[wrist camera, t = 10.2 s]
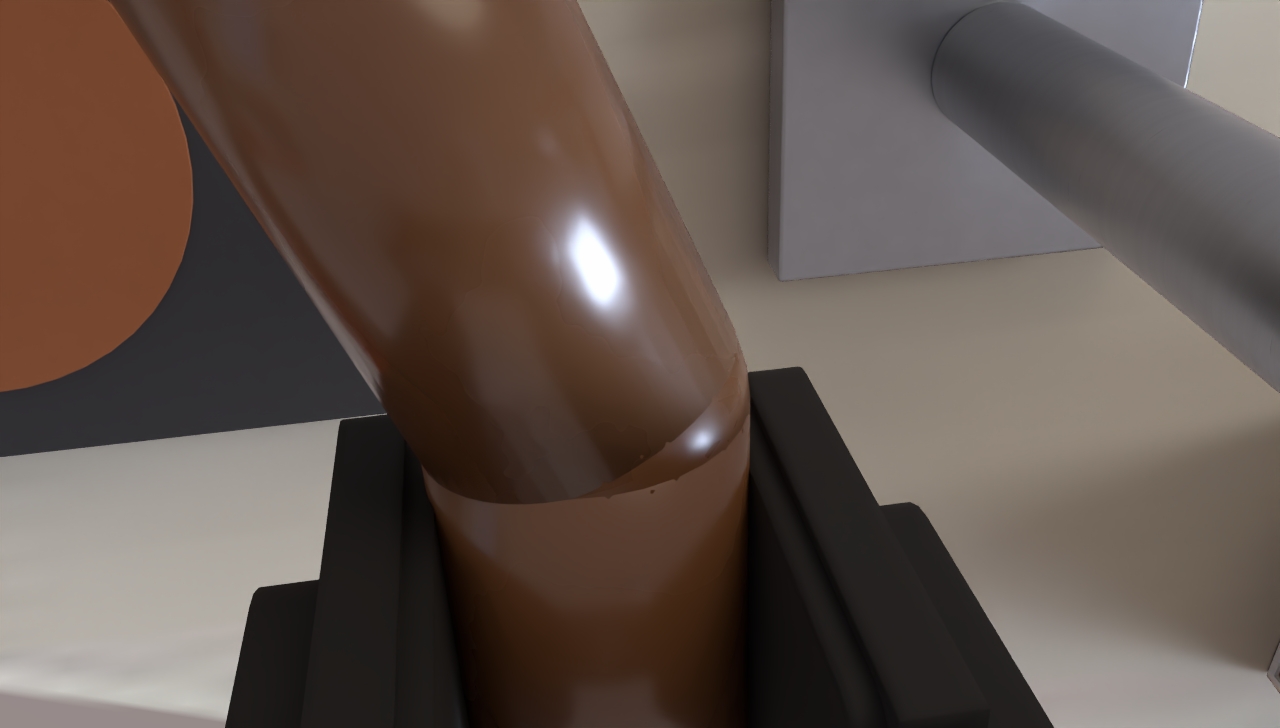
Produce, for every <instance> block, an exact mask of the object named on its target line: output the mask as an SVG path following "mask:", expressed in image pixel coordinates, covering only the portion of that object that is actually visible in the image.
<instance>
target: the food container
mask: <svg viewBox="0 0 1280 728" xmlns="http://www.w3.org/2000/svg"><path fill="white" fill-rule="evenodd" d="M1267 676H1268V678H1269V679H1270V681H1271V682H1272V683H1273V685H1274V686H1275V687H1276V689H1277V690H1278V692H1279V693H1280V643H1279V646H1278V648H1277V651H1276V653H1275V656H1274V658H1273V661H1272V663H1271V666H1270V668H1269V671H1268V673H1267Z"/></svg>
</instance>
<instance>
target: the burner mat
mask: <svg viewBox="0 0 1280 728" xmlns="http://www.w3.org/2000/svg"><path fill="white" fill-rule="evenodd" d="M384 413H387V412H386V411H385V409H384V408H383V406H382V405H381V403H380V402H379V400H378V399H377V397H376V396H375V394H374V393H373V391H372V390H371V388H370V387H369V385H368V384H367V382H366V381H365V379H364V378H363V376H362V375H361V373H360V372H359V371H358V369H357V368H356V366H355V365H354V363H353V362H352V360H351V359H350V357H349V356H348V354H347V353H346V351H345V350H344V348H343V347H342V345H341V344H340V342H339V341H338V339H337V338H336V336H335V335H334V333H333V332H332V330H331V329H330V327H329V326H328V324H327V323H326V321H325V320H324V319H323V317H322V316H321V314H320V313H319V311H318V310H317V308H316V307H315V305H314V304H313V302H312V301H311V299H310V298H309V296H308V295H307V293H306V292H305V290H304V289H303V287H302V286H301V284H300V283H299V281H298V280H297V278H296V277H295V275H294V274H293V272H292V271H291V269H290V268H289V266H288V265H287V264H286V262H285V261H284V259H283V258H282V256H281V255H280V253H279V252H278V250H277V249H276V247H275V246H274V244H273V243H272V241H271V240H270V238H269V237H268V235H267V234H266V232H265V231H264V229H263V228H262V226H261V225H260V223H259V222H258V220H257V219H256V217H255V216H254V214H253V213H252V212H251V210H250V209H249V207H248V206H247V204H246V203H245V201H244V200H243V198H242V197H241V195H240V194H239V192H238V191H237V189H236V188H235V186H234V185H233V183H232V182H231V180H230V179H229V177H228V176H227V174H226V173H225V171H224V170H223V168H222V167H221V165H220V164H219V162H218V161H217V159H216V158H215V157H214V155H213V154H212V152H211V151H210V149H209V148H208V146H207V145H206V143H205V142H204V140H203V139H202V137H201V136H200V134H199V133H198V131H197V130H196V128H195V127H194V125H193V124H192V122H191V121H190V119H189V118H188V116H187V115H186V113H185V112H184V110H183V109H182V107H181V106H180V105H179V103H178V102H177V100H176V99H175V97H174V96H173V94H172V93H171V91H170V90H169V88H168V87H167V85H166V84H165V82H164V81H163V79H162V78H161V76H160V75H159V73H158V72H157V70H156V69H155V67H154V66H153V64H152V63H151V61H150V60H149V58H148V57H147V55H146V54H145V52H144V51H143V50H142V48H141V47H140V45H139V44H138V42H137V41H136V39H135V38H134V36H133V35H132V33H131V32H130V30H129V29H128V27H127V26H126V24H125V23H124V21H123V20H122V18H121V17H120V15H119V14H118V12H117V11H116V9H115V8H114V6H113V5H112V3H111V2H110V0H0V457H6V456H14V455H23V454H32V453H41V452H50V451H58V450H67V449H76V448H85V447H94V446H102V445H111V444H120V443H129V442H138V441H146V440H155V439H164V438H173V437H182V436H190V435H199V434H208V433H217V432H226V431H234V430H243V429H252V428H261V427H270V426H278V425H287V424H296V423H305V422H313V421H322V420H331V419H340V418H349V417H357V416H366V415H375V414H384Z"/></svg>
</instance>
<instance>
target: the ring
mask: <svg viewBox="0 0 1280 728" xmlns="http://www.w3.org/2000/svg"><path fill="white" fill-rule="evenodd" d="M110 2H111V3H112V5H113V6H114V8H115V9H116V11H117V12H118V14H119V15H120V17H121V18H122V20H123V21H124V23H125V24H126V26H127V27H128V29H129V30H130V32H131V33H132V35H133V36H134V38H135V39H136V41H137V42H138V44H139V45H140V47H141V48H142V50H143V51H144V52H145V54H146V55H147V57H148V58H149V60H150V61H151V63H152V64H153V66H154V67H155V69H156V70H157V72H158V73H159V75H160V76H161V78H162V79H163V81H164V82H165V84H166V85H167V87H168V88H169V90H170V91H171V93H172V94H173V96H174V97H175V99H176V100H177V102H178V103H179V105H180V106H181V107H182V109H183V110H184V112H185V113H186V115H187V116H188V118H189V119H190V121H191V122H192V124H193V125H194V127H195V128H196V130H197V131H198V133H199V134H200V136H201V137H202V139H203V140H204V142H205V143H206V145H207V146H208V148H209V149H210V151H211V152H212V154H213V155H214V157H215V158H216V159H217V161H218V162H219V164H220V165H221V167H222V168H223V170H224V171H225V173H226V174H227V176H228V177H229V179H230V180H231V182H232V183H233V185H234V186H235V188H236V189H237V191H238V192H239V194H240V195H241V197H242V198H243V200H244V201H245V203H246V204H247V206H248V207H249V209H250V210H251V212H252V213H253V214H254V216H255V217H256V219H257V220H258V222H259V223H260V225H261V226H262V228H263V229H264V231H265V232H266V234H267V235H268V237H269V238H270V240H271V241H272V243H273V244H274V246H275V247H276V249H277V250H278V252H279V253H280V255H281V256H282V258H283V259H284V261H285V262H286V264H287V265H288V266H289V268H290V269H291V271H292V272H293V274H294V275H295V277H296V278H297V280H298V281H299V283H300V284H301V286H302V287H303V289H304V290H305V292H306V293H307V295H308V296H309V298H310V299H311V301H312V302H313V304H314V305H315V307H316V308H317V310H318V311H319V313H320V314H321V316H322V317H323V319H324V320H325V321H326V323H327V324H328V326H329V327H330V329H331V330H332V332H333V333H334V335H335V336H336V338H337V339H338V341H339V342H340V344H341V345H342V347H343V348H344V350H345V351H346V353H347V354H348V356H349V357H350V359H351V360H352V362H353V363H354V365H355V366H356V368H357V369H358V371H359V372H360V373H361V375H362V376H363V378H364V379H365V381H366V382H367V384H368V385H369V387H370V388H371V390H372V391H373V393H374V394H375V396H376V397H377V399H378V400H379V402H380V403H381V405H382V406H383V408H384V409H385V411H386V412H387V414H388V415H389V417H390V418H391V420H392V421H393V423H394V424H395V425H396V427H397V428H398V430H399V431H400V433H401V434H402V436H403V437H404V439H405V440H406V442H407V443H408V445H409V446H410V448H411V449H412V451H413V452H414V454H415V455H416V457H417V458H418V460H419V461H420V463H421V465H422V471H423V477H424V483H425V488H426V492H427V495H428V498H429V500H430V502H431V504H432V506H433V508H434V514H435V520H436V527H437V533H438V539H439V545H440V551H441V557H442V563H443V569H444V576H445V582H446V588H447V594H448V600H449V606H450V612H451V618H452V624H453V631H454V637H455V643H456V649H457V655H458V661H459V667H460V673H461V680H462V686H463V692H464V698H465V704H466V710H467V716H468V722H469V728H748V679H749V467H750V389H749V380H748V371H747V365H746V362H745V359H744V356H743V353H742V350H741V347H740V344H739V341H738V339H737V336H736V332H735V329H734V327H733V324H732V322H731V320H730V318H729V316H728V314H727V312H726V310H725V308H724V306H723V304H722V302H721V300H720V297H719V295H718V293H717V291H716V289H715V287H714V285H713V283H712V281H711V279H710V277H709V275H708V273H707V270H706V268H705V266H704V264H703V262H702V260H701V258H700V256H699V254H698V252H697V250H696V248H695V245H694V243H693V241H692V239H691V237H690V235H689V233H688V231H687V229H686V227H685V225H684V223H683V221H682V218H681V216H680V214H679V212H678V210H677V208H676V206H675V204H674V202H673V200H672V198H671V196H670V193H669V191H668V189H667V187H666V185H665V183H664V181H663V179H662V177H661V175H660V173H659V171H658V169H657V166H656V164H655V162H654V160H653V158H652V156H651V154H650V152H649V150H648V148H647V146H646V144H645V141H644V139H643V137H642V135H641V133H640V131H639V129H638V127H637V125H636V123H635V121H634V119H633V117H632V114H631V112H630V110H629V108H628V106H627V104H626V102H625V100H624V98H623V96H622V94H621V92H620V90H619V87H618V85H617V83H616V81H615V79H614V77H613V75H612V73H611V71H610V69H609V67H608V65H607V62H606V60H605V58H604V56H603V54H602V52H601V50H600V48H599V46H598V44H597V42H596V40H595V38H594V35H593V33H592V31H591V29H590V27H589V25H588V23H587V21H586V19H585V17H584V15H583V13H582V10H581V8H580V6H579V4H578V2H577V0H110Z"/></svg>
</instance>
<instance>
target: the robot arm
mask: <svg viewBox="0 0 1280 728" xmlns="http://www.w3.org/2000/svg"><path fill="white" fill-rule="evenodd" d="M748 380H749V389H750V467H749V679H748V728H1054V727H1053V725H1052V723H1051V722H1050V720H1049V718H1048V717H1047V715H1046V713H1045V712H1044V710H1043V708H1042V707H1041V705H1040V703H1039V702H1038V700H1037V699H1036V697H1035V695H1034V694H1033V692H1032V690H1031V689H1030V687H1029V685H1028V684H1027V682H1026V680H1025V679H1024V677H1023V675H1022V674H1021V672H1020V670H1019V669H1018V667H1017V665H1016V664H1015V662H1014V660H1013V659H1012V657H1011V655H1010V654H1009V652H1008V650H1007V649H1006V647H1005V645H1004V644H1003V642H1002V640H1001V639H1000V637H999V635H998V634H997V632H996V630H995V629H994V627H993V625H992V624H991V622H990V621H989V619H988V617H987V616H986V614H985V612H984V611H983V609H982V607H981V606H980V604H979V602H978V601H977V599H976V597H975V596H974V594H973V592H972V591H971V589H970V587H969V586H968V584H967V582H966V581H965V579H964V577H963V576H962V574H961V572H960V571H959V569H958V567H957V566H956V564H955V562H954V561H953V559H952V557H951V556H950V554H949V552H948V551H947V549H946V547H945V546H944V544H943V543H942V541H941V539H940V538H939V536H938V534H937V533H936V531H935V529H934V528H933V526H932V524H931V523H930V521H929V519H928V518H927V516H926V515H925V514H924V512H923V511H922V510H921V509H920V507H919V506H917V505H915V504H913V503H911V502H907V503H899V504H891V505H884V506H879V505H878V503H877V501H876V499H875V498H874V496H873V494H872V492H871V490H870V489H869V487H868V485H867V483H866V481H865V480H864V478H863V476H862V474H861V472H860V470H859V469H858V467H857V465H856V463H855V461H854V460H853V458H852V456H851V454H850V452H849V450H848V449H847V447H846V445H845V443H844V441H843V440H842V438H841V436H840V434H839V432H838V431H837V429H836V427H835V425H834V423H833V421H832V420H831V418H830V416H829V414H828V412H827V411H826V409H825V407H824V405H823V403H822V402H821V400H820V398H819V396H818V394H817V392H816V391H815V389H814V387H813V385H812V383H811V382H810V380H809V378H808V376H807V374H806V373H805V371H804V370H803V369H802V367H791V368H782V369H774V370H765V371H756V372H748ZM225 728H469V722H468V716H467V710H466V704H465V698H464V692H463V686H462V680H461V673H460V667H459V661H458V655H457V649H456V643H455V637H454V631H453V624H452V618H451V612H450V606H449V600H448V594H447V588H446V582H445V576H444V569H443V563H442V557H441V551H440V545H439V539H438V533H437V527H436V520H435V514H434V508H433V506H432V504H431V502H430V500H429V498H428V495H427V492H426V488H425V483H424V477H423V471H422V465H421V463H420V461H419V460H418V458H417V457H416V455H415V454H414V452H413V451H412V449H411V448H410V446H409V445H408V443H407V442H406V440H405V439H404V437H403V436H402V434H401V433H400V431H399V430H398V428H397V427H396V425H395V424H394V423H393V421H392V420H391V418H390V417H389V415H379V416H371V417H362V418H354V419H345V420H342V421H340V425H339V431H338V439H337V446H336V454H335V462H334V470H333V477H332V485H331V493H330V501H329V508H328V516H327V524H326V532H325V539H324V547H323V555H322V562H321V570H320V578H319V580H312V581H305V582H297V583H290V584H282V585H274V586H267V587H259V588H258V589H257V590H256V591H255V593H254V594H253V597H252V601H251V604H250V607H249V612H248V617H247V622H246V627H245V631H244V636H243V641H242V646H241V651H240V656H239V661H238V666H237V671H236V676H235V681H234V686H233V691H232V696H231V701H230V706H229V711H228V716H227V720H226V725H225Z"/></svg>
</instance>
